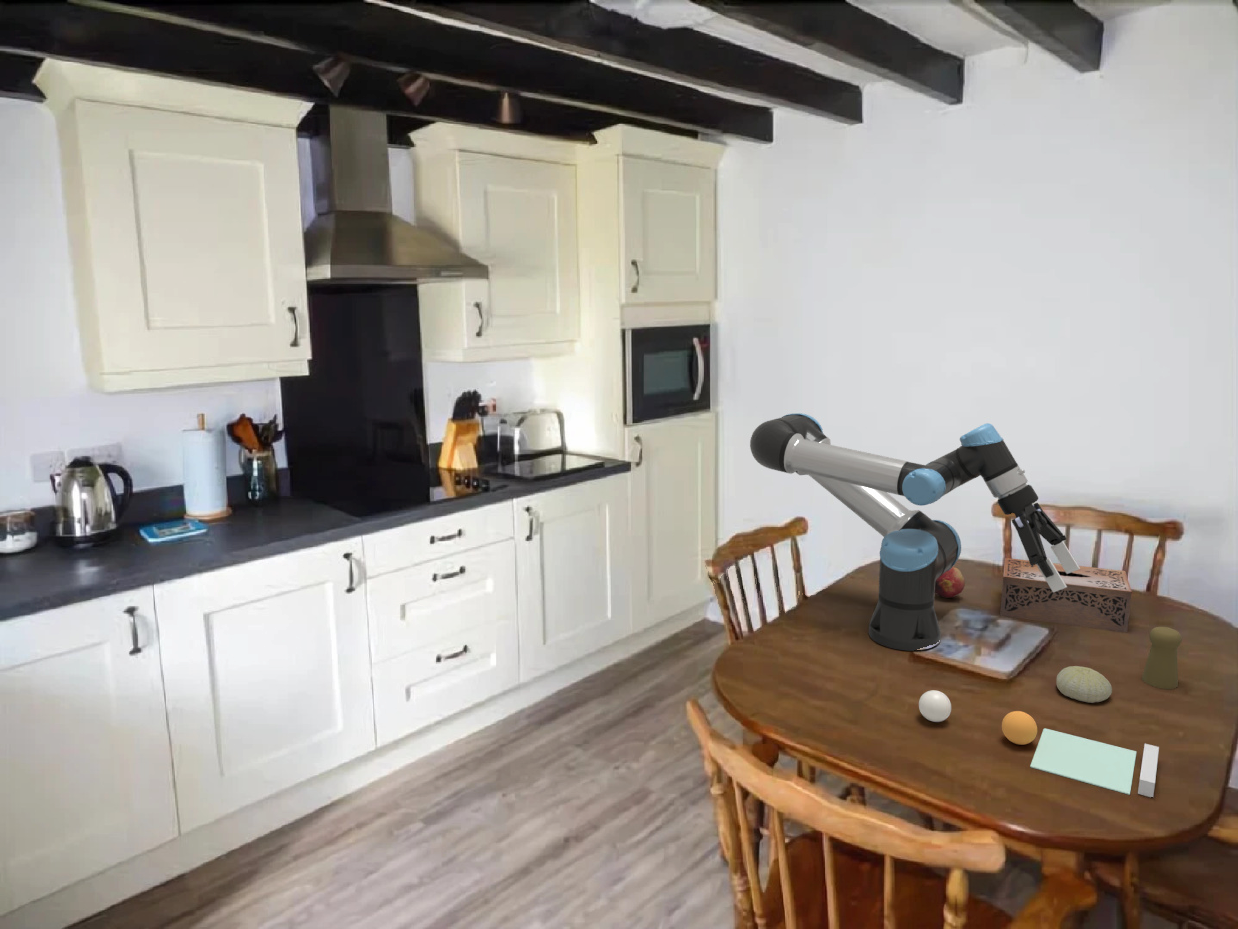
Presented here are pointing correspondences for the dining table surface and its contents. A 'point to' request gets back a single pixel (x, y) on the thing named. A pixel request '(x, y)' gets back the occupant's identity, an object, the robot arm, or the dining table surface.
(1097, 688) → the sea urchin shell
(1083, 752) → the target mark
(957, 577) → the fruit
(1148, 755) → the stopper
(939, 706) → the cue ball
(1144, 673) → the cork
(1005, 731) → the orange ball
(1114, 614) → the tissue box cover
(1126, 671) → the dining table surface
